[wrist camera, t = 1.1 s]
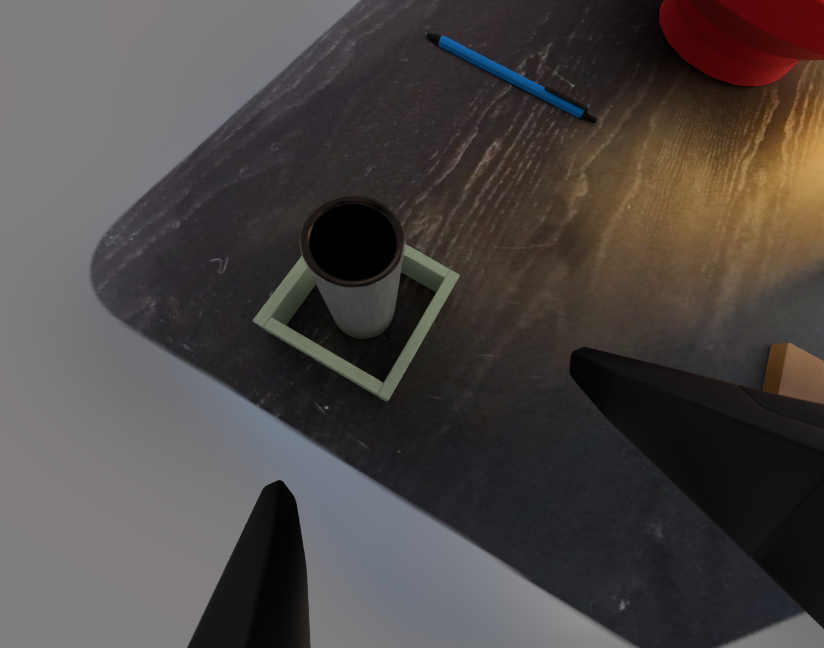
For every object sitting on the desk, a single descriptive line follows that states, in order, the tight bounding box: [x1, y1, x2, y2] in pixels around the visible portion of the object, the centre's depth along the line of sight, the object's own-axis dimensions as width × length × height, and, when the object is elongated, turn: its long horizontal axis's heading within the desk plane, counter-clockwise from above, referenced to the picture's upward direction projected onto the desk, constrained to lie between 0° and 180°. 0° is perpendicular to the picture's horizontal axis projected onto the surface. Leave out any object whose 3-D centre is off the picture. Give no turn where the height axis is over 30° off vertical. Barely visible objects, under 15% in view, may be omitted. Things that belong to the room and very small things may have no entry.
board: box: [762, 343, 824, 404], centre depth 24 cm, size 9×9×1 cm
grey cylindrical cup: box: [300, 195, 405, 339], centre depth 18 cm, size 4×4×10 cm
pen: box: [425, 33, 597, 123], centre depth 31 cm, size 1×19×1 cm, turn 61°
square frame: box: [253, 244, 459, 401], centre depth 22 cm, size 10×10×3 cm
